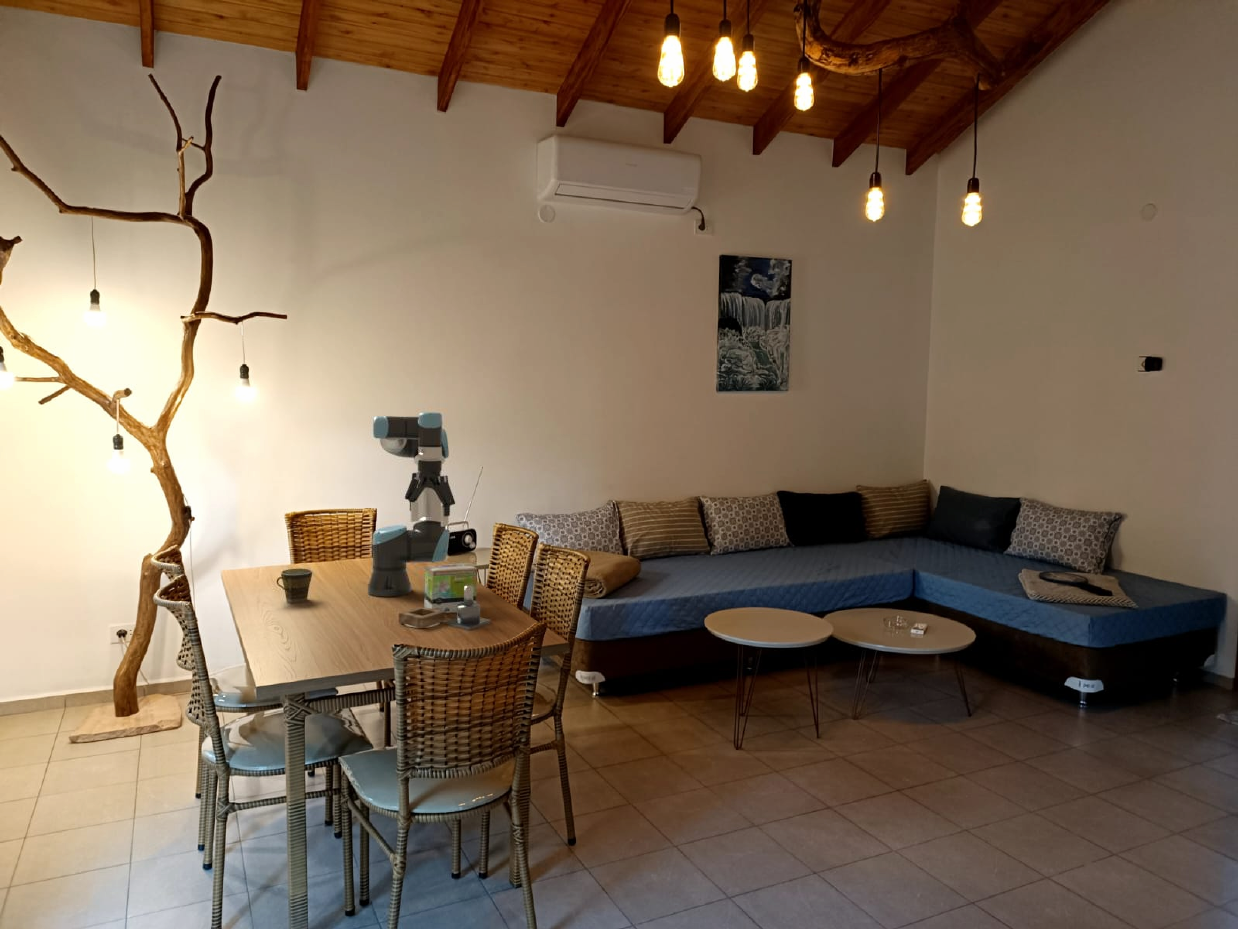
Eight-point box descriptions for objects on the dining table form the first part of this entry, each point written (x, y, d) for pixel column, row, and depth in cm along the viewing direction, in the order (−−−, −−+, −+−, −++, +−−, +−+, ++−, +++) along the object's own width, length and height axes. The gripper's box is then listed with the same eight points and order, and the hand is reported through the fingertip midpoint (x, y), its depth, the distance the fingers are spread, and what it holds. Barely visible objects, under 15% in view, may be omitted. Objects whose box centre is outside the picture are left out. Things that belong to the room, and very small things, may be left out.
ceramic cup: (298, 595, 300) (298, 567, 299) (318, 599, 295) (318, 570, 294) (267, 603, 288) (266, 573, 287) (287, 607, 283) (287, 577, 282)
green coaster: (396, 623, 269) (396, 622, 269) (422, 616, 278) (422, 614, 278) (422, 630, 263) (422, 628, 263) (447, 622, 273) (447, 620, 273)
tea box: (432, 615, 280) (432, 570, 278) (424, 608, 288) (424, 564, 287) (476, 611, 286) (477, 567, 285) (467, 603, 295) (468, 561, 294)
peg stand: (445, 624, 270) (445, 587, 269) (467, 617, 278) (467, 581, 277) (469, 630, 265) (470, 592, 263) (490, 623, 273) (491, 585, 272)
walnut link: (398, 622, 269) (398, 613, 269) (422, 615, 278) (422, 606, 277) (422, 628, 264) (422, 618, 264) (445, 620, 272) (445, 611, 272)
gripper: (394, 457, 286) (394, 520, 288) (450, 463, 273) (449, 529, 275) (410, 456, 292) (410, 518, 294) (466, 461, 279) (465, 526, 281)
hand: (429, 523), depth 284 cm, fingers open, 13 cm apart
